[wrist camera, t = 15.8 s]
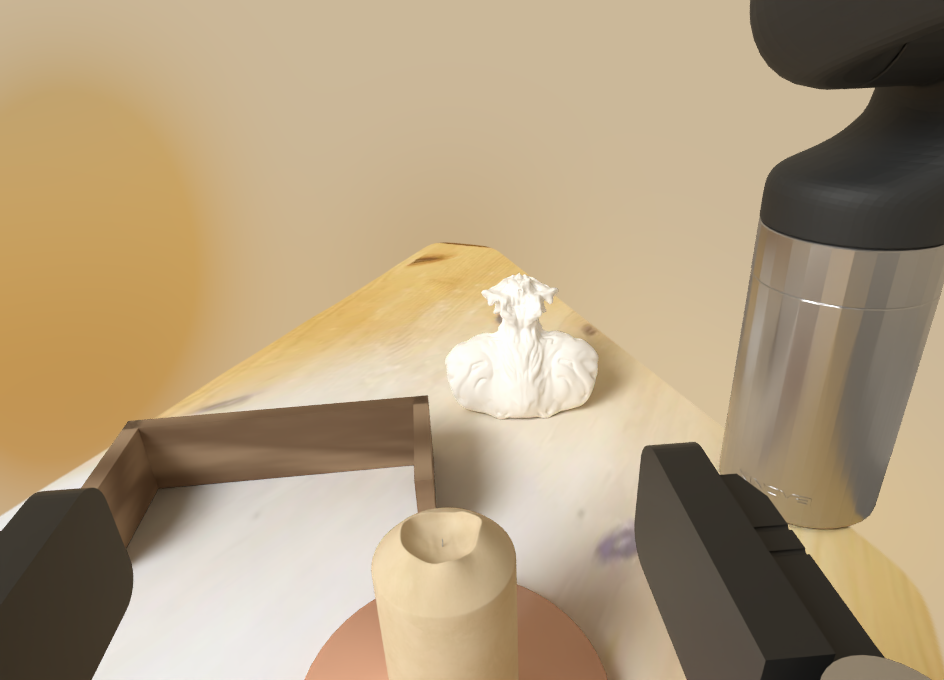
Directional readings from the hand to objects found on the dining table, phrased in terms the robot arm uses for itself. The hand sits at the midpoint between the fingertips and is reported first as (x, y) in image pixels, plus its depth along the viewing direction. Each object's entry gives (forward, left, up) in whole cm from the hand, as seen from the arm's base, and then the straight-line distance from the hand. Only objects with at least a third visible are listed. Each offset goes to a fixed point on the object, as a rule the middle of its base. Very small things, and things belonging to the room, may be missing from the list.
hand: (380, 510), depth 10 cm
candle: (-7, -7, -20) cm, 23 cm away
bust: (-29, -23, -22) cm, 43 cm away
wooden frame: (-9, -26, -21) cm, 34 cm away
